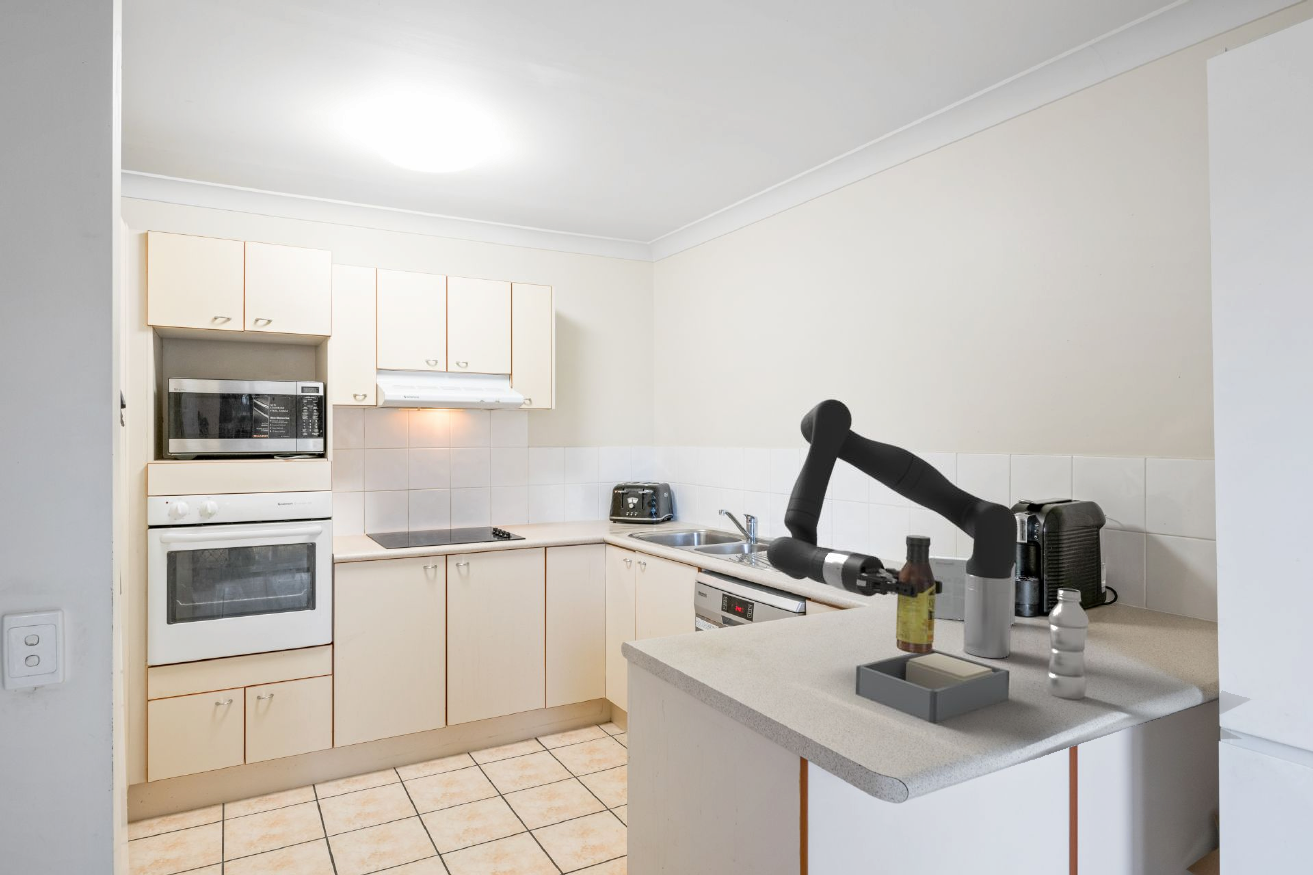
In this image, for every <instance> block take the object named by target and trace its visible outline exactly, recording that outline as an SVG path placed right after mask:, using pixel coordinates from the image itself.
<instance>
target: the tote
mask: <svg viewBox="0 0 1313 875" xmlns="http://www.w3.org/2000/svg"><path fill="white" fill-rule="evenodd" d="M934 653H938V654H942V655H945V656H949V657H952V658H955V659H959V660H962V661H966V662H969V663H973V664H976V665H979V666H983V667H986V668H990V669H992V672H994V673H992V674H988V675H985V676H981V677H978V678H974V679H971V680H967V681H964V682H960V683H957V684H953V685H950V686H946V687H943V688H939V689H935V690H931V689H928V688H925V687H922V686H919V685H916V684H913V683H910V682H907V681H906V662H909V659H913V658H917V657H921V656H926V655H930V654H934ZM855 667H856V668H855V669H856V670H855V671H856V672H855V695H857V696H860V697H862V698H865V699H867V700H870V701H873V702H875V703H878V704H881V705H883V706H886V707H889V708H891V709H893V710H896V711H898V712H902V713H904V714H907V715H909V716H911V717H914V718H917V719H920V720H922V721H925V722H928V723H931V724H933V725H934V724H936V723H940V722H943V721H946V720H949V719H951V718H955V717H958V716H961V715H964V714H967V713H970V712H973V711H977V710H979V709H982V708H986V707H989V706H992V705H995V704H998V703H1001V702H1003V701H1007V700H1009V696H1010V695H1009V694H1010V691H1009V690H1010V670H1007V669H1004V668H1000V667H996V666H993V665H990V664H987V663H982V662H979V661H976V660H973V659H969V658H965V657H962V656H958V655H956V654H955V655H954V654H951V653H948V652H945V651H940V650H937V649H934V648H932V651H931V652H929V653H923V654H918V653H907V654H903V655H899V656H894V657H889V658H885V659H881V660H877V661H872V662H867V663H864V664H859V665H856V666H855Z"/></svg>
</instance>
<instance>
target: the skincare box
mask: <svg viewBox="0 0 1313 875" xmlns="http://www.w3.org/2000/svg"><path fill="white" fill-rule="evenodd" d="M970 558H971V557H970ZM970 558H969V557H955V556H954V557H951V556H939V555H929V563H930V566H931V570H932V573H933V576H934V579H935V580H937V581H941V582H942V593H941V594H935V617H934V619H937V618H941V620H948V619H960V620H964V618H965V587H966V586H965V584H966V563H967V561H968V560H969V559H970ZM1016 566H1017V564H1016V562H1015V564H1014V566H1013V568H1012V571H1011V598H1010V610H1011V623H1015V620H1016V619H1015V618H1016V617H1015V614H1016V613H1015V612H1016V611H1015V610H1016V608H1015V606H1016ZM1015 624H1016V623H1015Z"/></svg>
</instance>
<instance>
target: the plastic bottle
mask: <svg viewBox="0 0 1313 875" xmlns="http://www.w3.org/2000/svg"><path fill="white" fill-rule="evenodd" d="M1056 599H1057V600H1058V603H1056V604H1055V606H1054V607H1053V608H1052V609H1051V610H1050V612H1049V615H1048V628H1049V636H1050V656H1049V663H1048V670H1047V672H1046V677H1045V688H1046V692H1047V693H1048V694H1049V695H1052V696H1053V697H1057V698H1060V699H1066V700H1081V699H1083V698H1084V697H1085V696H1086V693H1087V681H1086V676H1085V661H1084V660H1085V658H1084V657H1085V648H1086V647H1085V646H1086V640H1087V634H1088V630H1089V629H1088V628H1089V623H1090V620H1089V618H1088V615H1087V613H1086V611H1085V610H1084V609H1083V608H1082V606H1081V605H1080V603H1081V602H1082V598H1081V591H1080V590H1078V589H1073V588H1061V587H1060V588H1057V596H1056Z"/></svg>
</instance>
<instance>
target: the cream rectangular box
mask: <svg viewBox="0 0 1313 875" xmlns="http://www.w3.org/2000/svg"><path fill="white" fill-rule="evenodd" d="M992 673H994V672H992V669H990V668H986V667H983V666H979V665H976V664H973V663H969V662H966V661H962V660H959V659H955V658H952V657H949V656H945V655H942V654H938V653H934V654H930V655H926V656H921V657H917V658H913V659H909V662H906V681H907V682H910V683H913V684H916V685H919V686H922V687H925V688H928V689H931V690H935V689H939V688H943V687H946V686H950V685H953V684H957V683H960V682H964V681H967V680H971V679H974V678H978V677H981V676H985V675H988V674H992Z"/></svg>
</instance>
